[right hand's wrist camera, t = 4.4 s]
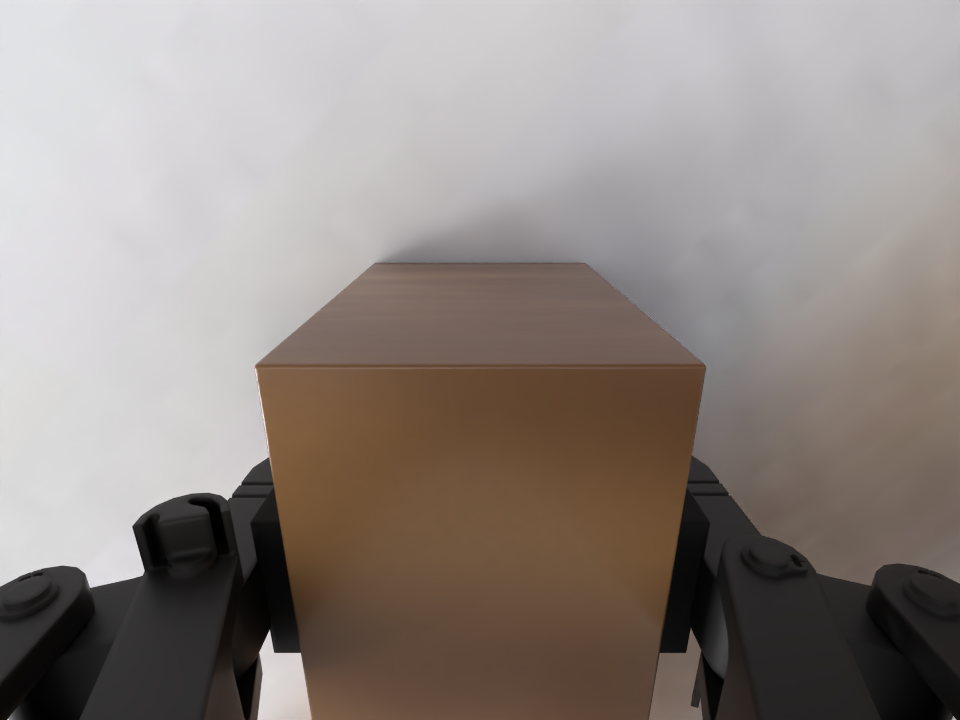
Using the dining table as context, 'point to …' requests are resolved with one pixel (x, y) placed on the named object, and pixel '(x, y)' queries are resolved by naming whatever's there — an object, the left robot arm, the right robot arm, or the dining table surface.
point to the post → (480, 492)
